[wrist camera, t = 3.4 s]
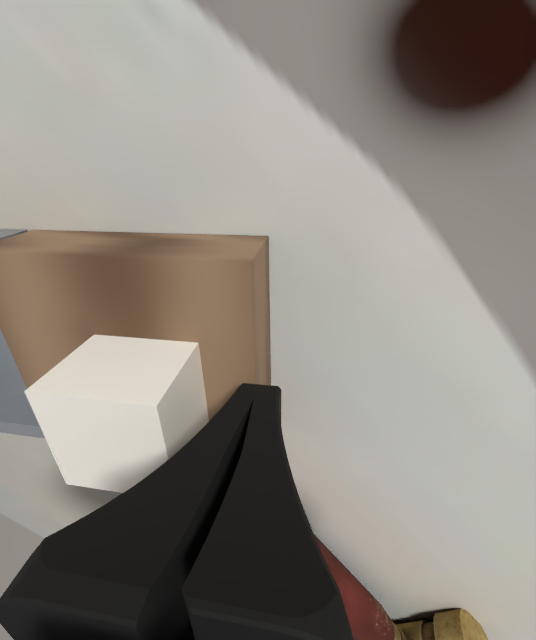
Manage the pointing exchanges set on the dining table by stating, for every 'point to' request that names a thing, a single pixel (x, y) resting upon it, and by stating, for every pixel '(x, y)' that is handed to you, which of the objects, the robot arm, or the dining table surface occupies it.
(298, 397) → the dining table surface
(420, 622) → the gavel
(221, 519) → the robot arm
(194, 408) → the tile block
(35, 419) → the tray
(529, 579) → the dining table surface
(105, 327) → the board
